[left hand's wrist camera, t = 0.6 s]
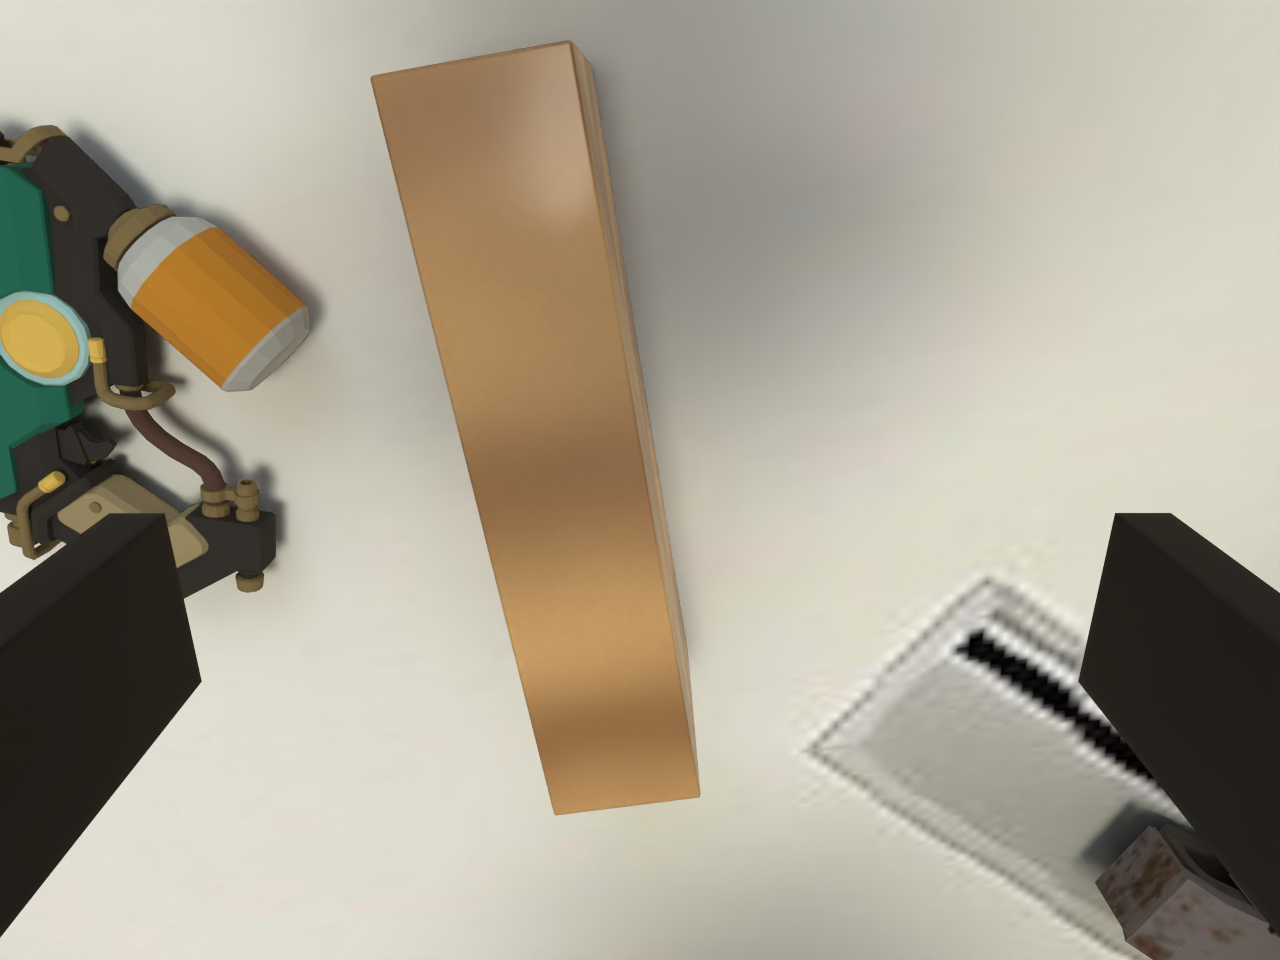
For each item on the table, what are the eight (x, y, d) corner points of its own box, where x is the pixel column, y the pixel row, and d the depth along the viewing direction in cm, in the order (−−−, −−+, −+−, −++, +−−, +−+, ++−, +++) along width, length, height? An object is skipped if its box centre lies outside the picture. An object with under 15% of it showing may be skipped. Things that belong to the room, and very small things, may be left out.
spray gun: (270, 604, 39) (-71, 467, 37) (383, 259, 33) (-25, 71, 31) (223, 662, 35) (-160, 512, 33) (341, 283, 29) (-129, 70, 27)
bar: (443, 88, 31) (368, 75, 22) (591, 62, 31) (571, 39, 22) (572, 668, 40) (553, 816, 31) (688, 653, 40) (701, 798, 31)
